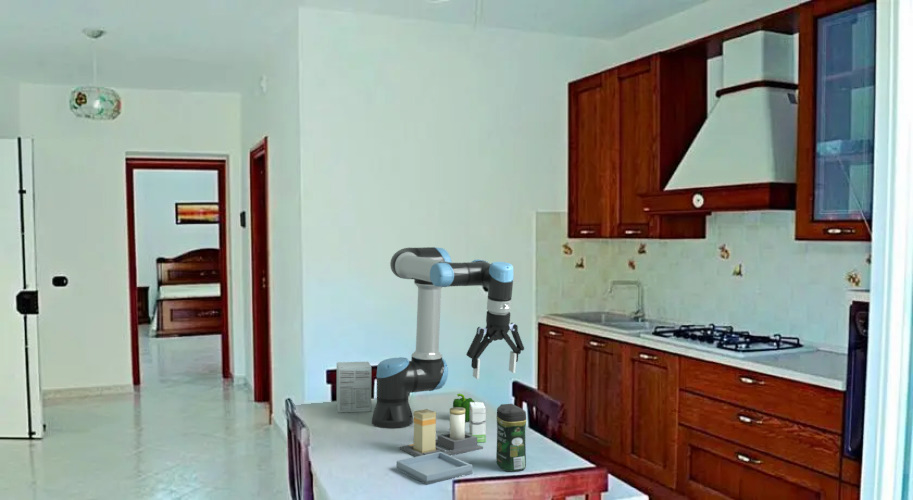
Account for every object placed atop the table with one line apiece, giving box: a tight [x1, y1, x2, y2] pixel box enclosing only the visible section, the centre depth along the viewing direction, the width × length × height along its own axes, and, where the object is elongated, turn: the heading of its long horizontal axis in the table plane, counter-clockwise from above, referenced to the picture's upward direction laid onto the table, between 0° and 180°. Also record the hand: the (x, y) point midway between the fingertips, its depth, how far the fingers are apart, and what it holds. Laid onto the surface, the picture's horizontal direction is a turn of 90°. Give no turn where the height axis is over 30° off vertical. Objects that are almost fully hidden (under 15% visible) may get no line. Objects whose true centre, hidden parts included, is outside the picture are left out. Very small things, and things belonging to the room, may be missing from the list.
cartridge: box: [449, 407, 466, 440], centre depth 236 cm, size 5×5×12 cm
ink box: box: [468, 401, 487, 443], centre depth 243 cm, size 9×5×12 cm, turn 5°
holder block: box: [398, 432, 484, 457], centre depth 232 cm, size 15×22×3 cm
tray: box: [396, 452, 473, 486], centre depth 210 cm, size 16×16×2 cm
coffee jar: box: [495, 403, 527, 472], centre depth 214 cm, size 10×8×19 cm
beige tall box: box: [412, 408, 437, 454], centre depth 228 cm, size 5×5×13 cm
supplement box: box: [336, 361, 372, 413], centre depth 285 cm, size 13×13×18 cm
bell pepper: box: [452, 393, 475, 422], centre depth 268 cm, size 8×8×10 cm
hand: (494, 374), depth 230 cm, fingers open, 13 cm apart
